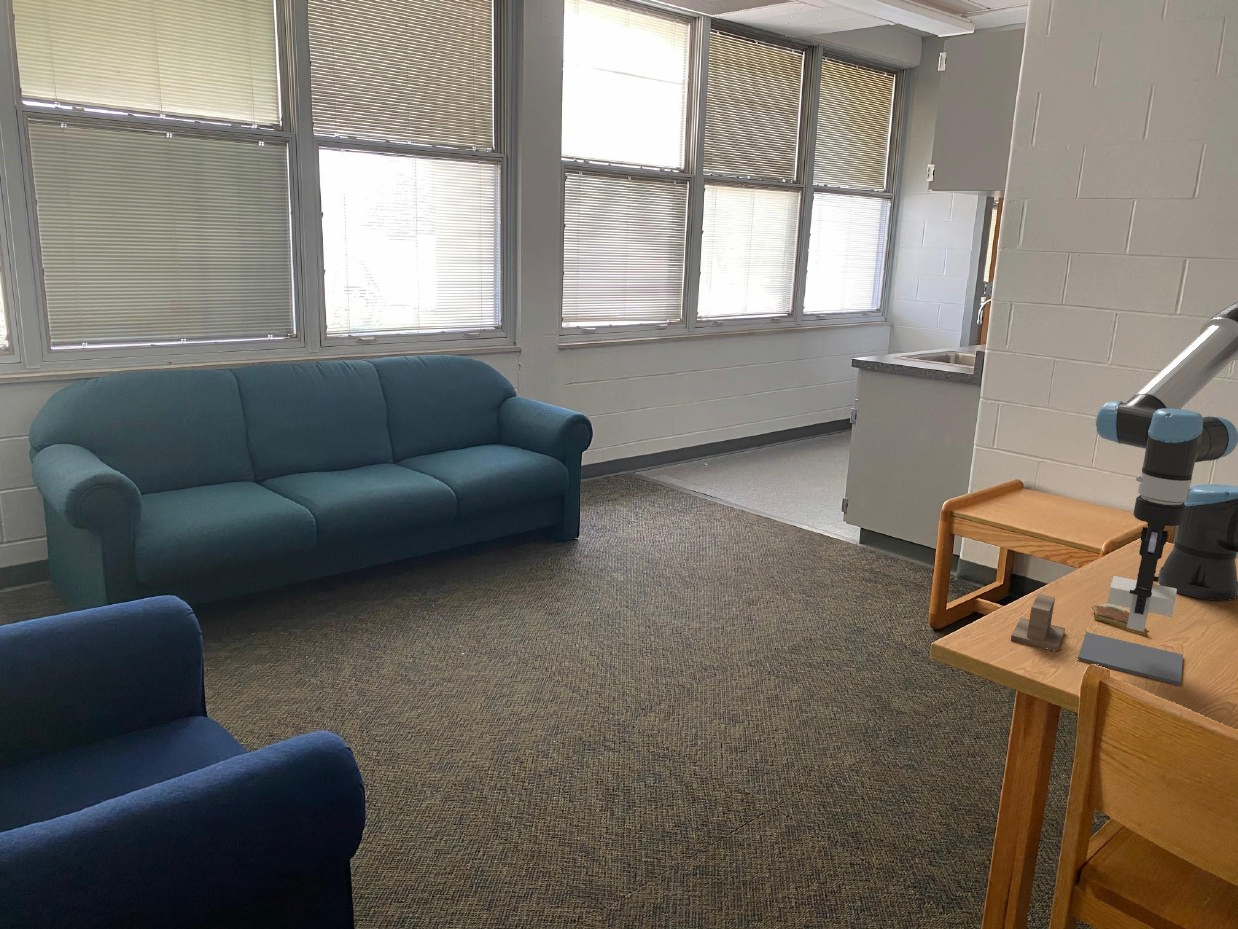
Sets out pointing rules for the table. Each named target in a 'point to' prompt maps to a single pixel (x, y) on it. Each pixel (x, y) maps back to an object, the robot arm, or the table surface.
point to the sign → (1113, 606)
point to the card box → (1160, 597)
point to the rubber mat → (1132, 658)
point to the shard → (1114, 617)
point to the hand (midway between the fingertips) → (1137, 621)
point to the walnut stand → (1039, 626)
